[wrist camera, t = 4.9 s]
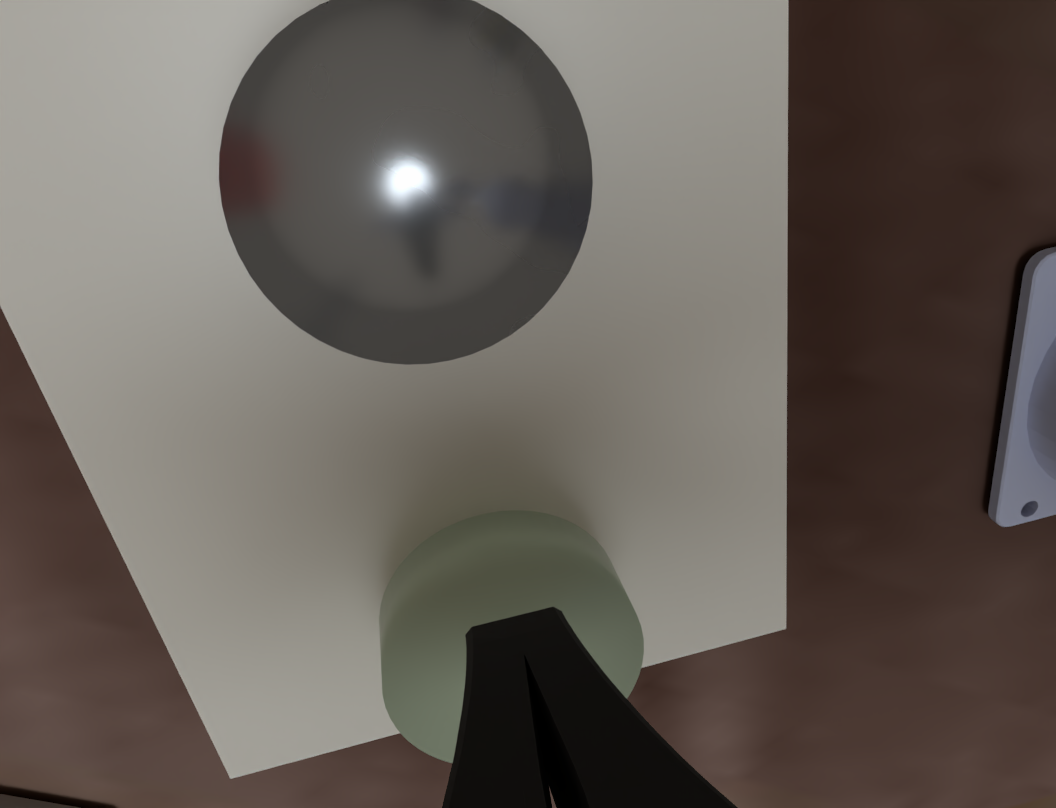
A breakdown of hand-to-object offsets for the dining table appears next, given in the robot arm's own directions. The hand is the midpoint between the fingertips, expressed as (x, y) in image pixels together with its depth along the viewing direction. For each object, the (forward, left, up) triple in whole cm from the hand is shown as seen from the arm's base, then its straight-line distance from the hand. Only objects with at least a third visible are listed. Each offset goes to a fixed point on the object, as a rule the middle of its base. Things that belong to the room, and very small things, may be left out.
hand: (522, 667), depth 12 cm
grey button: (0, -6, -4) cm, 8 cm away
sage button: (0, +2, -4) cm, 5 cm away
